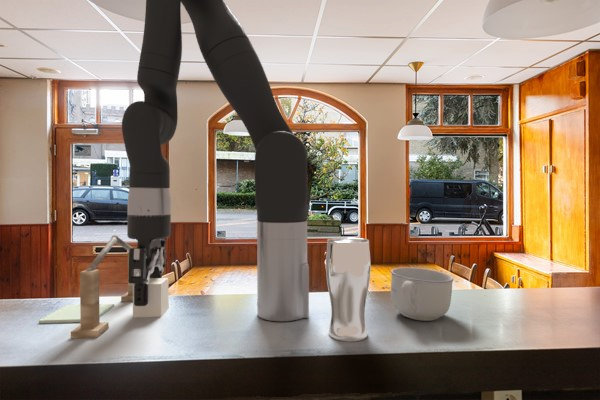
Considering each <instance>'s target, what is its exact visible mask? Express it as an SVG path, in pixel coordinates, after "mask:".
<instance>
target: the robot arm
mask: <svg viewBox="0 0 600 400" xmlns="http://www.w3.org/2000/svg"><path fill="white" fill-rule="evenodd" d="M181 5H182V6H181ZM181 7H184V9H185V11H186V13H187V14H188V16H189V18H190V21H191V23H192V27H193V30H194V33H195V37H196V41H197V44H198V47H199V51H200V53H201V55H202V58H203V59H204V62H205V65H206V66H207V68H208V69H209V72H210V74H211V76H212V79H214V82H215V83H216V85H217V86H218V88H219V89H220V91H221V93H222V94H223V96H224V98H225V100H227V102H228V104H229V105H230V107H232V109H233V110H234V112H235V113H236V114H237V115H238V117H239V119H240V120H241V121H242V124H243V125H244V127H245V129H246V130H247V133H248V135H249V137H250V140H251V142H252V144H253V147H254V149H255V154H254V201H255V202H254V203H255V207H256V222H257V223H256V234H257V235H256V239H257V241H256V244H257V245H256V250H257V253H256V255H257V257H256V260H257V262H256V265H257V266H256V267H257V268H256V270H257V275H256V276H257V277H256V278H257V279H256V283H257V287H256V288H257V289H256V290H257V294H256V295H257V299H256V300H257V302H256V303H257V304H256V305H257V317H259V318H260V319H262V320H266V321H272V322H290V321H297V320H300V319H308V318H309V317H310V305H309V304H310V300H309V299H310V292H309V291H310V289H309V288H310V285H309V284H310V281H309V280H310V279H309V278H310V270H309V269H310V265H309V264H308V153H307V149H306V147H305V146H306V145H304V143H303V141H302V140H301V139H300V138H299V137H298V136H296V134H294V132H293V131H292V130H291V128H290V126H289V125H288V123H287V122H286V120H285V118H284V117H283V115H282V113H281V110H280V108H279V107H278V104H277V102H276V100H275V96H274V94H273V91H272V88H271V84H270V82H269V80H268V76H267V75H266V74H267V73H266V72H265V70H264V67H263V65H262V62H261V60H260V58H259V55H258V53H257V52H256V50H255V47H254V46H253V44H252V41H251V40H250V38H249V36H248V34H247V33H246V31H245V29H244V28H243V25H241V23H240V22H239V20H238V19H237V17H236V16H235V15H234V14H233V12H232V10H231V9H230V8H229V6H228V5H227V4H226V2H225V0H145V13H144V15H145V17H144V27H143V35H142V43H141V49H140V56H139V62H138V66H137V67H138V68H137V76H136V77H137V78H136V81H137V85H138V87H140V89H141V91H142V92H143V96H144V97H143V98H144V99H143V100H137V101H134V102H132V103H130V104H129V105H128V106H127V108H126V109H125V111H124V112H123V115H122V121H121V132H122V138H123V143H124V147H125V152H126V156H127V159H128V164H129V174H128V176H129V180H128V183H129V185H128V186H129V188H128V195H127V221H126V222H127V229H126V230H127V234H126V235H127V238H128V239H131V240H136V241H137V244H136V248H135V247H133V248H130V251H128V252H129V279H128V278H127V282H128V281H129V283H132V284H133V285H134V305H135V306H146V305H147V304H148V283H149V278H163V273H164V270H165V269H166V267H167V259H166V258H167V251H166V250H167V249H166V248H167V245H166V244H167V241H166V239H168V238H170V236H171V234H172V233H171V229H172V227H171V226H172V222H171V219H172V217H171V216H172V213H171V212H172V199H171V190H170V188H171V187H170V186H171V185H170V184H171V183H170V182H171V181H170V179H171V178H170V177H171V175H170V174H171V171H170V170H171V169H170V164H169V161H168V159H167V158H166V157H165V156H164V155H163V152H162V145H165V144H167V143H169V142H170V141H171V140H172V139H173V137H174V135H175V133H176V130H177V126H178V119H179V116H178V94H177V86H178V81H179V75H180V71H181V70H180V69H181V62H182V56H183V55H182V54H183V37H182V36H183V34H182V33H183V32H182V20H181V18H182V16H181V15H182V13H181V12H182V11H181ZM140 273H141V276H139V274H140Z"/></svg>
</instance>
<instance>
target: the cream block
mask: <svg viewBox="0 0 600 400" xmlns="http://www.w3.org/2000/svg"><path fill="white" fill-rule="evenodd" d="M169 304H170V303H169V278H168V277H162V278H149V283H148V304H147V305H146V306H135V305H134V285H133V301H132V318H155V317H156V318H161V317H162V316H163V315H164V314H166V312H167V311H168V310H169V307H170V306H169Z"/></svg>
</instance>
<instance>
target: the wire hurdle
mask: <svg viewBox="0 0 600 400" xmlns="http://www.w3.org/2000/svg"><path fill="white" fill-rule="evenodd" d="M115 243H116V244H117V245H119V246H120V247H122V248H123V249H125V250H127V251H128V252H127V292H125V293H124V294H122V295H121V297H120V302H133V284H132V283H129V281H128V279H129V251H130V248H134V246H131V245H130V244H128V243H127V242H126V241H124V240H123V239H121V238H120V237H119V236H118V235H116V234H115V235H112V236H111V237H110V240H108V242H107V243H106V245H104V246H103V248H102V249H101V251H100V252H99V253H98V255H97V256H96V257H95V259H93V261H92V262H91V263H90V264H89V266H88V267H87V268H86V269H84V270H82V271H80V272H79V289H80V290H79V294H80V295H79V299H80V302H79V303H80V304H79V305H80V314H81V322H80V325H78V326H77V327H75V328H74V329H72V330H71V331H70V339H83V338H84V339H86V338H87V339H88V338H99V337H100V336H101V335H102V334H103V333H105V332H106V331H108V329H109V322H108V321H107V322H102V321H101V320H100V318H101V317H99V304H100V269H96V268H97V267H98V266H99V265H100V263H101V262H102V261H103V259H104V258H105V257H106V255H107V254H108V253H109V251H110V250H111V249H112V247H113V246H114V245H115ZM139 276H141V273H140V274H139ZM100 321H101V322H100Z"/></svg>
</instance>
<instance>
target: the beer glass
mask: <svg viewBox="0 0 600 400" xmlns="http://www.w3.org/2000/svg"><path fill="white" fill-rule="evenodd" d="M326 241H327V243H326V257H325V272H326V273H325V274H326V275H325V276H326V284H327V290H328V295H329V302H330V312H331V313H330V314H331V316H330V323H329V328H328V335H329V336H330V337H331V338H332V339H333V340H337V341H340V342H348V343H349V342H360V341H363V340H365V339H367V337H368V334H369V333H368V327H367V323H366V322H367V321H366V306H367V305H366V304H367V299H368V294H369V293H368V292H369V287H370V280H371V252H370V240H369V239H368V238H361V237H331V238H328V239H327V240H326Z"/></svg>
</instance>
